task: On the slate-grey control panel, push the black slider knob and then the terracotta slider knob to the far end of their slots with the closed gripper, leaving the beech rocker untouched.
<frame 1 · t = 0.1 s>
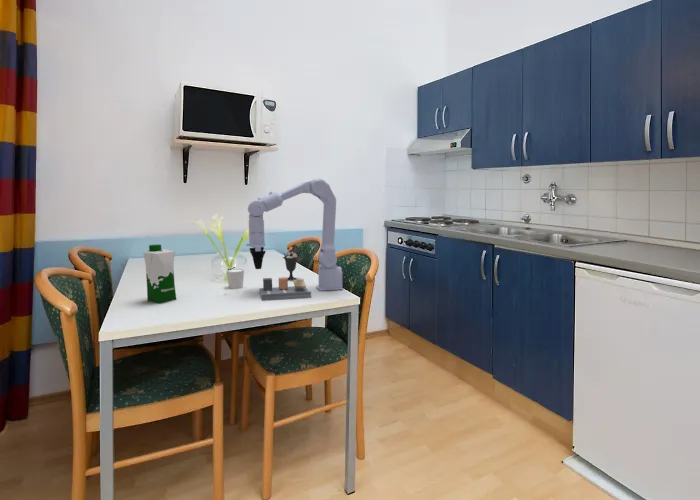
hand: (257, 267, 168), 10 cm above the table, tool pointing down, fingers open, 7 cm apart
grey tapered cup: (236, 287, 178), on the table
beech rocker: (299, 283, 168), point 4 cm above the table, hinge at -12.0°
panel: (284, 294, 166), on the table
milk carton: (162, 300, 157), on the table
black knob: (267, 284, 168), point 3 cm above the table, slide at 0.0 cm
terracotta knob: (283, 283, 169), point 3 cm above the table, slide at 0.0 cm
sundae: (291, 279, 194), on the table
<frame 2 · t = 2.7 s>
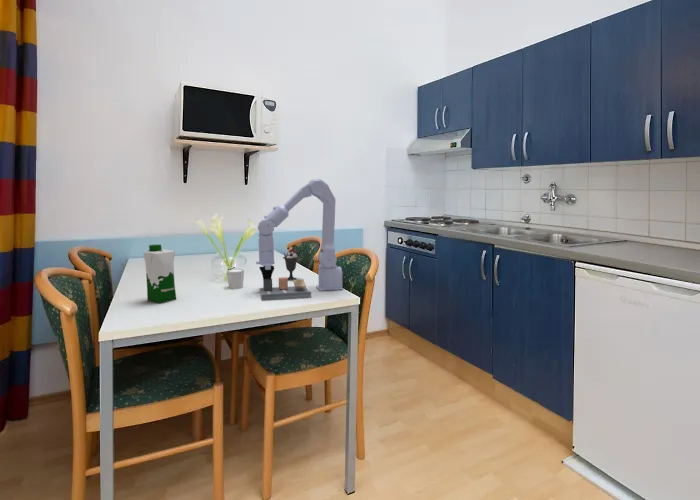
hand: (267, 284, 170), 3 cm above the table, tool pointing down, fingers closed
black knob: (267, 284, 167), point 3 cm above the table, slide at 0.5 cm, touching gripper
everything else where it was.
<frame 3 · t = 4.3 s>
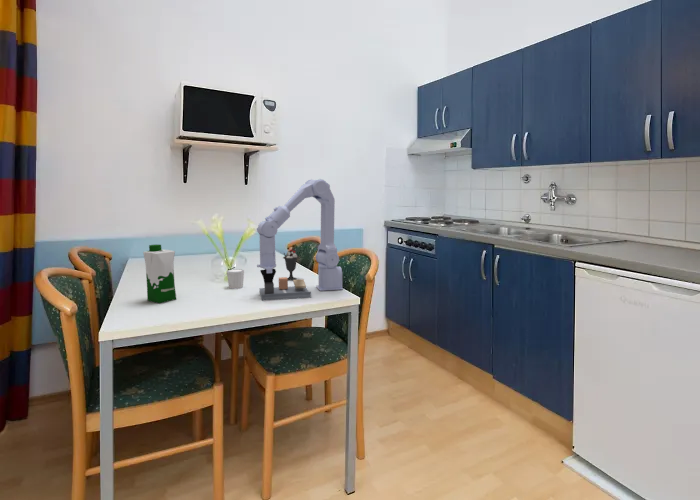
hand: (268, 288, 163), 3 cm above the table, tool pointing down, fingers closed
black knob: (269, 288, 160), point 3 cm above the table, slide at 7.5 cm, touching gripper
everything else where it was.
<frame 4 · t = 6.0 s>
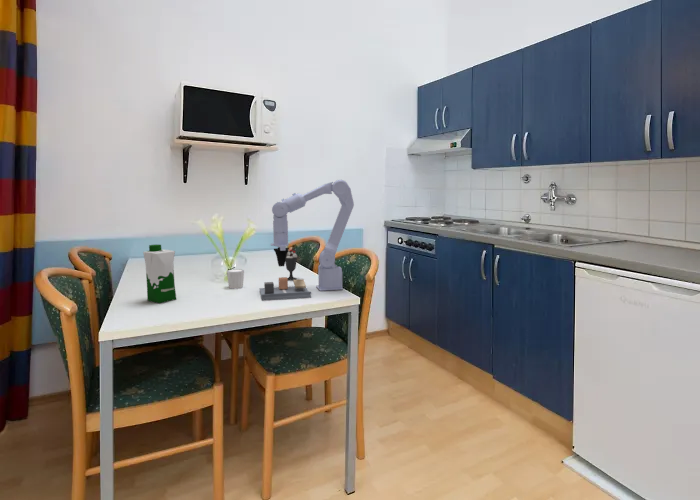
hand: (281, 266, 174), 9 cm above the table, tool pointing down, fingers closed
black knob: (269, 288, 160), point 3 cm above the table, slide at 7.5 cm
everything else where it was.
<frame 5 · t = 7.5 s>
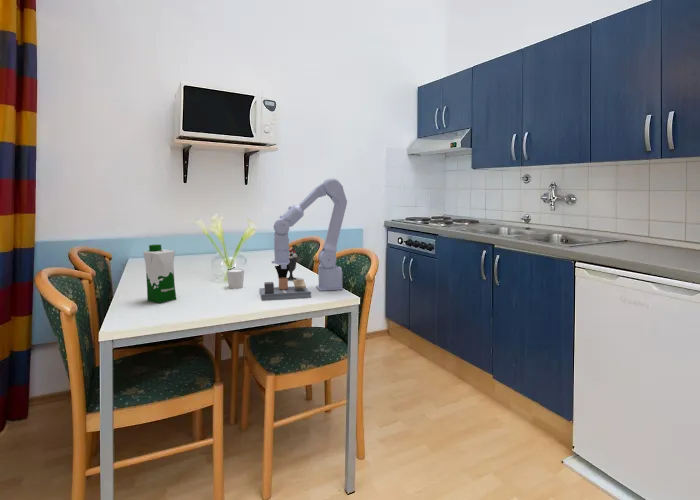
hand: (282, 283, 172), 3 cm above the table, tool pointing down, fingers closed
terracotta knob: (283, 283, 169), point 3 cm above the table, slide at 0.2 cm, touching gripper
everything else where it was.
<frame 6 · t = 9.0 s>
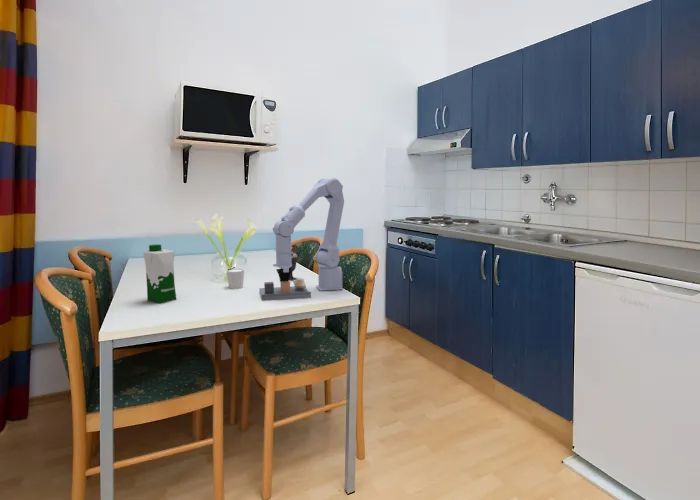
hand: (284, 287, 165), 3 cm above the table, tool pointing down, fingers closed
terracotta knob: (285, 287, 162), point 3 cm above the table, slide at 7.4 cm, touching gripper
everything else where it was.
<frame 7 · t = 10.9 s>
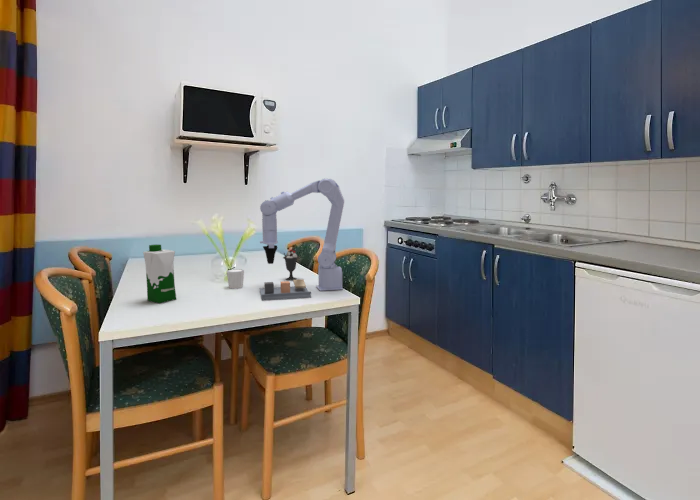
hand: (270, 263, 176), 10 cm above the table, tool pointing down, fingers closed
terracotta knob: (285, 287, 162), point 3 cm above the table, slide at 7.5 cm
everything else where it was.
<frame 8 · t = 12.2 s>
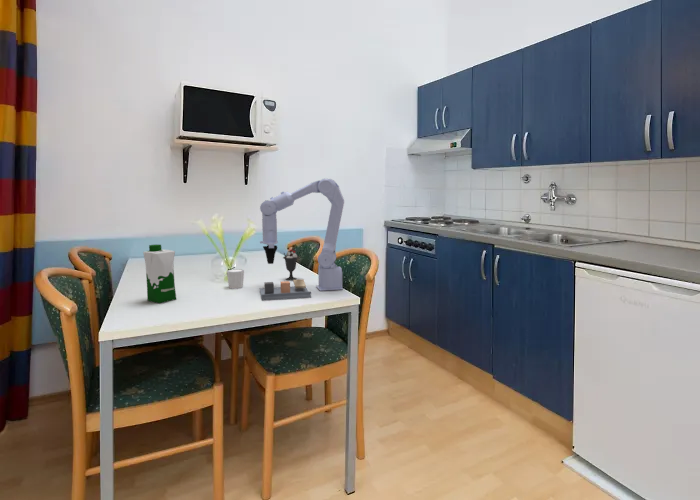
hand: (270, 263, 176), 10 cm above the table, tool pointing down, fingers closed
nothing on the table moved.
at the end: black knob slide at 7.5 cm; terracotta knob slide at 7.5 cm; beech rocker at -12° (first picture: -12°) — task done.
